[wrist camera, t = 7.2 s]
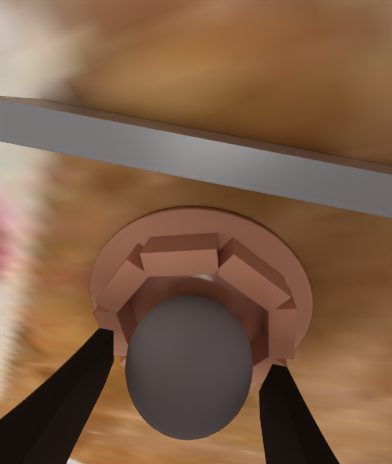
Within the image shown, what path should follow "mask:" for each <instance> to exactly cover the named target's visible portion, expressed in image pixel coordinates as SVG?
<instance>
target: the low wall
mask: <svg viewBox="0 0 392 464" xmlns="http://www.w3.org/2000/svg"><path fill="white" fill-rule="evenodd" d="M0 141H1V142H6V143H11V144H16V145H22V146H27V147H32V148H37V149H42V150H47V151H52V152H57V153H62V154H67V155H72V156H77V157H83V158H88V159H93V160H98V161H103V162H108V163H113V164H118V165H123V166H128V167H133V168H139V169H144V170H149V171H154V172H159V173H164V174H169V175H174V176H179V177H184V178H189V179H194V180H200V181H205V182H210V183H215V184H220V185H225V186H230V187H235V188H240V189H245V190H250V191H256V192H261V193H266V194H271V195H276V196H281V197H286V198H291V199H296V200H301V201H306V202H311V203H317V204H322V205H327V206H332V207H337V208H342V209H347V210H352V211H357V212H362V213H367V214H373V215H378V216H383V217H388V218H392V166H388V165H383V164H377V163H372V162H367V161H362V160H357V159H351V158H346V157H341V156H336V155H330V154H325V153H320V152H315V151H309V150H304V149H299V148H294V147H289V146H283V145H278V144H273V143H268V142H262V141H257V140H252V139H247V138H241V137H236V136H231V135H226V134H221V133H215V132H210V131H205V130H200V129H194V128H189V127H184V126H179V125H173V124H168V123H163V122H158V121H152V120H147V119H142V118H137V117H132V116H126V115H121V114H116V113H111V112H105V111H100V110H95V109H90V108H84V107H79V106H74V105H69V104H64V103H58V102H53V101H48V100H43V99H33V98H19V97H6V96H0Z"/></svg>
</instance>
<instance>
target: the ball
mask: <svg viewBox="0 0 392 464" xmlns="http://www.w3.org/2000/svg"><path fill="white" fill-rule="evenodd" d="M125 373H126V382H127V387H128V391H129V394H130V397H131V399H132V401H133V404H134V406H135V408H136V409H137V411H138V412H139V414H140V415H141V416H142V418H143V419H144V420H145V421H146V422H147V423H148V424H149V425H150V426H151V427H153V428H154V429H156V430H157V431H159V432H161V433H162V434H164V435H166V436H169V437H172V438H176V439H181V440H194V439H200V438H205V437H208V436H210V435H212V434H214V433H216V432H218V431H220V430H221V429H223V428H224V427H225V426H226V425H228V424H229V423H230V422H231V421H232V420H233V419H234V417H235V416H236V415H237V414H238V412H239V411H240V409H241V408H242V406H243V404H244V402H245V400H246V398H247V396H248V393H249V389H250V385H251V381H252V374H253V358H252V352H251V346H250V343H249V340H248V338H247V335H246V333H245V331H244V329H243V327H242V325H241V323H240V322H239V321H238V319H237V318H236V317H235V316H234V314H233V313H232V312H231V311H230V310H228V309H227V308H226V307H225V306H223V305H222V304H220V303H219V302H217V301H215V300H213V299H210V298H207V297H204V296H199V295H180V296H176V297H172V298H170V299H167V300H165V301H163V302H161V303H160V304H158V305H156V306H155V307H154V308H152V309H151V310H150V311H149V312H148V313H147V314H146V315H145V316H144V317H143V318H142V320H141V321H140V322H139V324H138V325H137V327H136V329H135V331H134V333H133V335H132V337H131V340H130V343H129V346H128V349H127V354H126V364H125Z"/></svg>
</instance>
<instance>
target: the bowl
mask: <svg viewBox="0 0 392 464" xmlns="http://www.w3.org/2000/svg"><path fill="white" fill-rule="evenodd" d="M90 295H91V300H92V305H93V308H94V312H93V313H94V315H95V318H96V320H97V323H98V325H99V328H103V329H108V330H112V331H114V356H122V358H121V361H120V363H119V364H120V365H122V366H123V367H125V364H126V354H127V349H128V346H129V343H130V340H131V337H132V335H133V333H134V331H135V329H136V327H137V325H138V324H139V322H140V321H141V320H142V318H143V317H144V316H145V315H146V314H147V313H148V312H149V311H150V310H151V309H152V308H154V307H155V306H156V305H158V304H160V303H161V302H163V301H165V300H167V299H170V298H172V297H176V296H180V295H199V296H204V297H207V298H210V299H213V300H215V301H217V302H219V303H220V304H222V305H223V306H225V307H226V308H227V309H228V310H230V311H231V312H232V313H233V314H234V316H235V317H236V318H237V319H238V321H239V322H240V323H241V325H242V327H243V329H244V331H245V333H246V335H247V338H248V340H249V343H250V346H251V352H252V358H253V374H252V381H251V385H250V389H252V388H253V387H255V386H257V385H259V384H260V383H262V382H264V380H265V378H266V376H267V374H268V372H269V370H270V368H271V366H272V364H276V365H281V366H286V367H287V363H286V359H294V350H295V349H296V348H297V347H298V345H299V344H300V343H301V341H302V340H303V338H304V336H305V335H306V333H307V330H308V328H309V325H310V322H311V317H312V312H313V297H312V291H311V286H310V284H309V281H308V278H307V275H306V273H305V271H304V269H303V267H302V265H301V264H300V262H299V260H298V258H297V257H296V255H295V254H294V253H293V252H292V250H291V249H290V248H289V246H288V245H287V244H286V243H285V242H284V241H282V240H281V239H280V238H279V237H278V236H277V235H276V234H275V233H273V232H272V231H270V230H269V229H267V228H266V227H264V226H263V225H261V224H259V223H257V222H255V221H253V220H251V219H250V218H247V217H245V216H242V215H239V214H236V213H234V212H230V211H226V210H222V209H217V208H211V207H201V206H183V207H174V208H168V209H163V210H159V211H156V212H152V213H149V214H147V215H145V216H142V217H140V218H138V219H136V220H134V221H133V222H131V223H129V224H128V225H126V226H125V227H123V228H122V229H121V230H120V231H119V232H118V233H117V234H115V235H114V236H113V237H112V238H111V240H110V241H109V242H108V243H107V244H106V246H105V247H104V248H103V249H102V251H101V252H100V254H99V256H98V258H97V259H96V262H95V264H94V267H93V270H92V275H91V281H90ZM287 368H288V367H287ZM250 389H249V390H250Z"/></svg>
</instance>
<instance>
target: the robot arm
mask: <svg viewBox="0 0 392 464" xmlns="http://www.w3.org/2000/svg"><path fill="white" fill-rule="evenodd" d="M113 361H114V331H112V330H108V329H103V328H99V329H98V330H97V331H96V332H95V333H94V334H93V335H92V336H91V337H90V338H89V339H88V340H87V342H86V343H85V344H84V345H83V346H82V347H81V348H80V349H79V350H78V351H77V352H76V353H75V354H74V355H73V356H72V357H71V358H70V359H69V360H68V361H67V362H66V363H64V364H63V365H62V366H61V367H60V368H59V369H58V370H57V371H56V372H55V373H54V374H53V375H52V376H51V377H50V378H49V379H47V380H46V381H45V382H44V383H43V384H42V385H41V386H39V387H38V388H37V389H36V390H35V391H34V392H33V393H32V394H30V395H29V396H28V397H27V398H26V399H25V400H23V401H22V402H21V403H20V404H19V405H17V406H16V407H15V408H14V409H12V410H11V411H10V412H9V413H7V414H6V415H5V416H4V417H2V418H1V419H0V464H66V463H67V461H68V459H69V457H70V454H71V452H72V450H73V448H74V446H75V444H76V442H77V440H78V438H79V436H80V434H81V432H82V430H83V428H84V426H85V424H86V422H87V420H88V418H89V416H90V414H91V412H92V410H93V408H94V406H95V404H96V402H97V399H98V397H99V395H100V393H101V391H102V389H103V387H104V385H105V382H106V380H107V377H108V375H109V372H110V369H111V367H112V364H113ZM259 403H260V421H261V429H262V436H263V444H264V451H265V458H266V464H339V462H338V460H337V459H336V457H335V455H334V454H333V452H332V450H331V449H330V447H329V445H328V443H327V442H326V440H325V438H324V436H323V435H322V433H321V431H320V429H319V427H318V426H317V424H316V422H315V420H314V418H313V417H312V415H311V413H310V411H309V409H308V407H307V405H306V403H305V401H304V400H303V398H302V396H301V394H300V392H299V390H298V388H297V386H296V384H295V382H294V380H293V378H292V376H291V374H290V372H289V370H288V368H287V367H286V366H281V365H276V364H272V366H271V368H270V370H269V372H268V374H267V376H266V378H265V380H264V382H263V384H262V387H261V389H260V391H259Z"/></svg>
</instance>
